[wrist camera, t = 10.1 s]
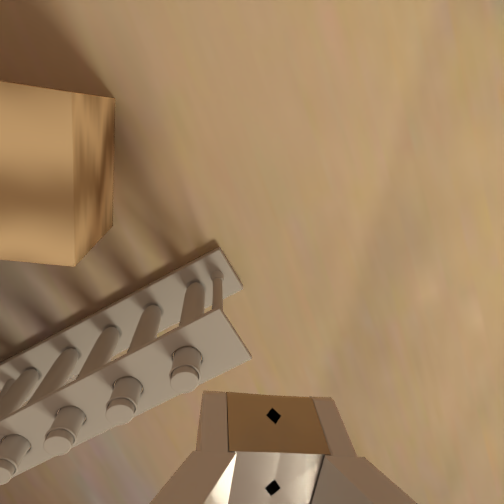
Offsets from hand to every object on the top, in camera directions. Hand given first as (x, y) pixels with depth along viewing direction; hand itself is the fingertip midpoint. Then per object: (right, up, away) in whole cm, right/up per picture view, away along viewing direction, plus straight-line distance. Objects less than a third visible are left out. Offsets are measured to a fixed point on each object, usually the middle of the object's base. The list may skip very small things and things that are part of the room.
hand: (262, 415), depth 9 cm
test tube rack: (-13, -3, +26) cm, 29 cm away
